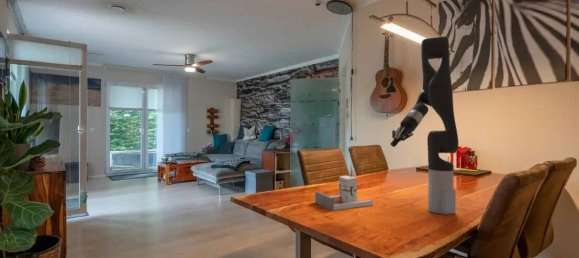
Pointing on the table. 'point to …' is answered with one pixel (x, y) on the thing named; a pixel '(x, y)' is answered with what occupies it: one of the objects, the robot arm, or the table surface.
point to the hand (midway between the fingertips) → (392, 145)
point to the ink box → (347, 189)
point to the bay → (329, 201)
